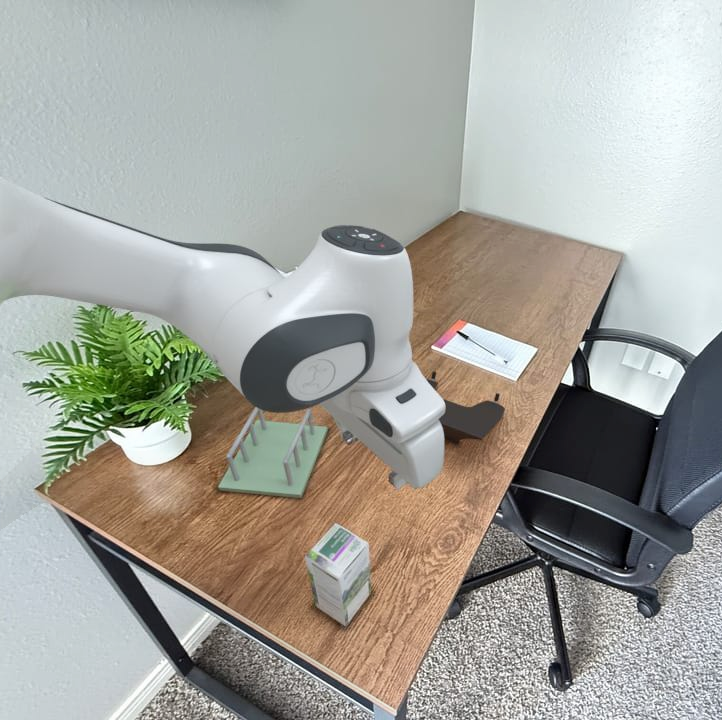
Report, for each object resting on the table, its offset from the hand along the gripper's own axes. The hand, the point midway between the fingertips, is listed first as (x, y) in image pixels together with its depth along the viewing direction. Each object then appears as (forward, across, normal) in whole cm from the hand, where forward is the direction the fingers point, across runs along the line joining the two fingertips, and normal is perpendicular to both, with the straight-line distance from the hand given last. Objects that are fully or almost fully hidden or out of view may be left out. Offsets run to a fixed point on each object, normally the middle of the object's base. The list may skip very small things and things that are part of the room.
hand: (373, 460), depth 58 cm
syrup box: (+25, +1, -7) cm, 26 cm away
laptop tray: (+24, -14, +30) cm, 41 cm away
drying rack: (+24, -28, 0) cm, 37 cm away
